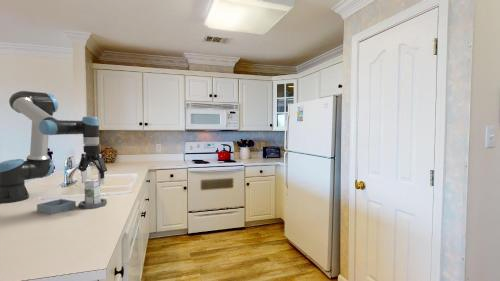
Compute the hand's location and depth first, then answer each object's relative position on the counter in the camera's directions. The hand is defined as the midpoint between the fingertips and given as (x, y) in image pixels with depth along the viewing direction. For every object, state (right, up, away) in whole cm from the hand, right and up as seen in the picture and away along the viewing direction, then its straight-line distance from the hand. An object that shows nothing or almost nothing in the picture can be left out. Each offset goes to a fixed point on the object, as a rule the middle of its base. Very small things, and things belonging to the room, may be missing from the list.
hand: (92, 183), depth 148 cm
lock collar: (0, -12, +1) cm, 12 cm away
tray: (-15, -13, -7) cm, 21 cm away
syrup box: (0, -12, +1) cm, 12 cm away
